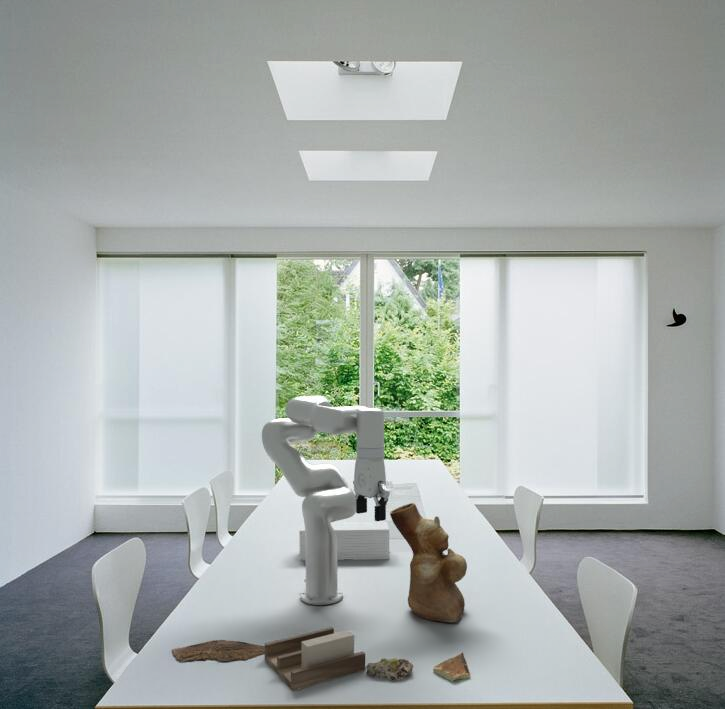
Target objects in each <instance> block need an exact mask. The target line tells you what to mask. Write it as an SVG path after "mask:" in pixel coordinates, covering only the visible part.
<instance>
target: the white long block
mask: <svg viewBox="0 0 725 709" xmlns="http://www.w3.org/2000/svg"><path fill="white" fill-rule="evenodd" d="M331 526H332V528H333V529H334V531H335V533H336V536H337V561H339V560H341V561H342V560H343V561H344V559H353V560H390V527H389V524H388V521H357V522H356V521H355V522H354V521H353V522H351V521H350V522H348V521H347V522H343V521H342V522H341V521H339V522H338V521H334V522H331ZM298 534H299V540H298V541H299V561H306V546H305V524H304V522H301V523H300V527H299V533H298Z"/></svg>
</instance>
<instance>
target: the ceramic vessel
mask: <svg viewBox="0 0 725 709" xmlns="http://www.w3.org/2000/svg"><path fill="white" fill-rule="evenodd" d="M389 515H390V517H391V518H390V519H391V520H392V522H393V525H394V526H395V528H396V529H397V530H398V532H399V533H400V534H401V536H402V537H403V539H404V540H405V541H406V543H407V544H408V546H409V547H410V549H411V551H412V558H411V561H410V564H409V569H410V572H409V573H410V575H409V577H410V580H409V590H408V596H407V604H408V607H409V609H410V610H411V611H412V612H413V613H414V614H415V615H417V616H419V617H421V618H423V619H425V620H430V621H436V622H444V623H457V622H459V621H460V620H461V619H462V617H463V615H464V611H465V603H466V602H465V597H464V595H463V593H462V591H461V590H460V588H459V587H458V586H457V584H456V583H457V582H460V581H461V580H462V579H463V578H464V577H465V576H466V573H467V569H468V566H467V565H468V564H467V561H466V559H465V558H464V557H463V556H462V555H460V554H458V553H456V552H455V551H454V550H452V549H451V548H449V537H450V536H449V534H448V533H447V532H446V531H445V530H444V528H443V527H442V526H441V521H440V517H439V516H434V519H429V518H425V517H423V516H422V515H421V514H420V511H419V509H418V507H417V505H416V503H413V502H410V503H407V504H404V505H401V506H398V507H397V508H395V509H392V510H391V511H390V512H389ZM446 551H447V553H446V554H445V553H444V552H446Z"/></svg>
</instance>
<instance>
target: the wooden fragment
mask: <svg viewBox="0 0 725 709" xmlns="http://www.w3.org/2000/svg"><path fill="white" fill-rule="evenodd" d="M171 653H172V657H173V658H175V660H176V661H179V663H186V662H188V661H198V660H199V661H206V660H211V661H212V660H215V661H217V662H229V661H235V660H236V661H237V660H238V661H239V660H242V661H247V660H251V659H254V658H256V657H258V656H259V657H260V656H261V655H263V654H264V655H265V645H264V644H262V645H261V644H254V643H250V642H249V643H248V642H243V641H239V640H238V641H236V640H235V641H234V640H226V639H219V640H217V639H216V640H209V641H206V642H201V643H200V642H199V643H195V644H191V645H187V646H182V647H176V648H172V649H171Z"/></svg>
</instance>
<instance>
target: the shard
mask: <svg viewBox="0 0 725 709" xmlns="http://www.w3.org/2000/svg"><path fill="white" fill-rule="evenodd" d="M432 671H433V673H435V674H437V675H439V676H441V677H443V678H445V679H447V680H449V681H451V682H453V681H455V680H462V679H469V678H471V673H470V670H469V667H468V663H467V661H466V659H465V654H464V652H461V653H459V654H458V655H456V656H453V657H450V658H448V659H447V660H444V661H442V662H440V663H439V664H437V665H435V666H434V667H433V669H432Z"/></svg>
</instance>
